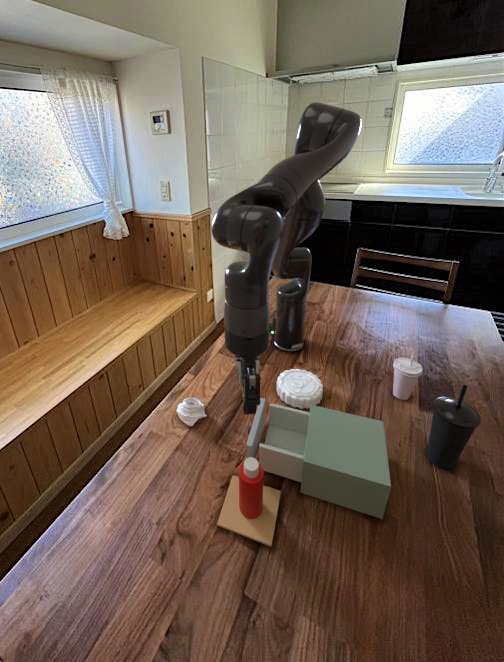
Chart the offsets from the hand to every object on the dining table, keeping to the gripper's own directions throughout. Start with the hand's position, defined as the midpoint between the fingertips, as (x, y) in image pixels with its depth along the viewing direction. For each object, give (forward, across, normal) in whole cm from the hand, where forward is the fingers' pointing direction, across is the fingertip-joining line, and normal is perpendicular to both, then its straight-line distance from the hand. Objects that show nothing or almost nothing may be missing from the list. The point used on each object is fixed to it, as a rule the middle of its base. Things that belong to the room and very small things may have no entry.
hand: (246, 394), depth 63 cm
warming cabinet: (+21, +2, +20) cm, 29 cm away
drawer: (+20, -3, +8) cm, 22 cm away
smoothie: (+21, -18, +43) cm, 52 cm away
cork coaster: (+21, +8, 0) cm, 22 cm away
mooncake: (+21, -21, +17) cm, 34 cm away
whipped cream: (+21, -15, -12) cm, 29 cm away
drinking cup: (+21, 0, +42) cm, 47 cm away
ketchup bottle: (+20, +8, 0) cm, 22 cm away
